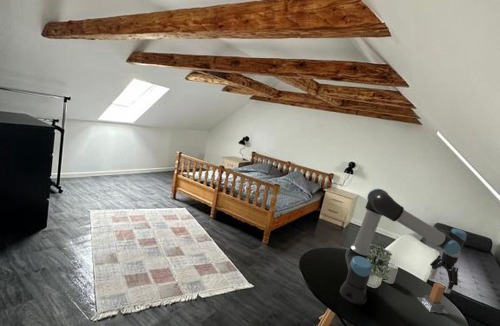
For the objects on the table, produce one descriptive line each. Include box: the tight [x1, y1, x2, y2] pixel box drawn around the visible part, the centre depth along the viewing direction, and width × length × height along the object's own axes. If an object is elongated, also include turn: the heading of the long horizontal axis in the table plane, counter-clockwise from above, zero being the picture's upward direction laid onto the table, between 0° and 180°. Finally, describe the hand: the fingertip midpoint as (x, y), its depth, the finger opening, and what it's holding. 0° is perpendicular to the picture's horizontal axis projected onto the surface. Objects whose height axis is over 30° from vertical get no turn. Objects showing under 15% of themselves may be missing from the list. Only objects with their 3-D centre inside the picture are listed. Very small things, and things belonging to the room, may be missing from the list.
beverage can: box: [382, 262, 399, 285], centre depth 192 cm, size 8×8×12 cm
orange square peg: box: [429, 282, 446, 303], centre depth 172 cm, size 4×4×14 cm
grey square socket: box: [416, 294, 449, 315], centre depth 173 cm, size 12×12×4 cm
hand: (438, 285), depth 171 cm, fingers open, 13 cm apart
